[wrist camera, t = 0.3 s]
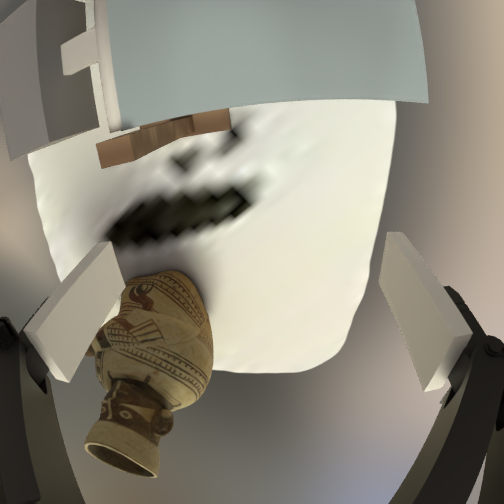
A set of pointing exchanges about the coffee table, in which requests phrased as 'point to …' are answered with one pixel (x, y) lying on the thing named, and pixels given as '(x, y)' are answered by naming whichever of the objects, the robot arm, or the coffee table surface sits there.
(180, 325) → the ceramic vessel
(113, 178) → the coffee table surface
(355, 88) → the trapdoor
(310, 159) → the coffee table surface
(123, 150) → the trapdoor frame
